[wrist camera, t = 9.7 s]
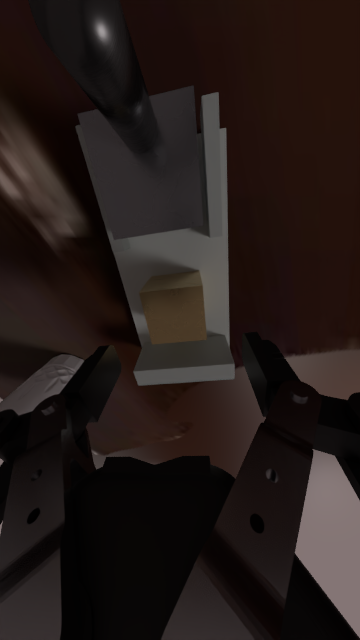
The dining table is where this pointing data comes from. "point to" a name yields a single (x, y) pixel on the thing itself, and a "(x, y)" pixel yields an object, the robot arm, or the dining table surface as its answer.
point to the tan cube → (174, 307)
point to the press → (183, 267)
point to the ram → (127, 120)
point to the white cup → (42, 384)
